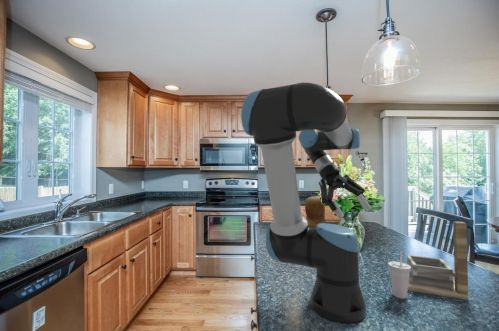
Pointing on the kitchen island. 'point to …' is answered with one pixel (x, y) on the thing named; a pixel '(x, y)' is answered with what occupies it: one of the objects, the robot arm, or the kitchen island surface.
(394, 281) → the smoothie
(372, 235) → the kitchen island surface
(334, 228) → the robot arm
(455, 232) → the cup bracket
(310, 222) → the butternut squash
